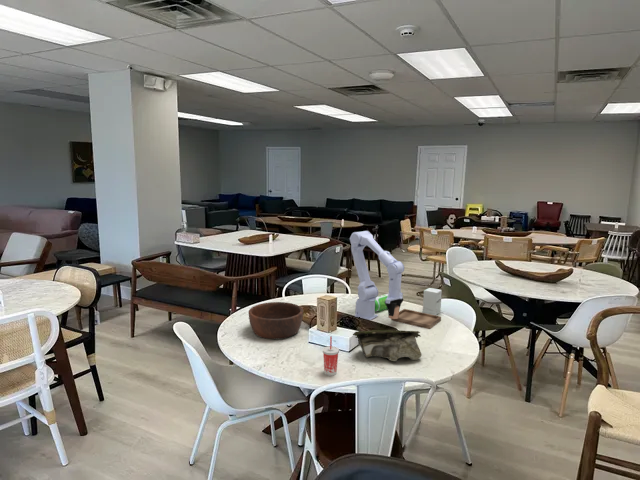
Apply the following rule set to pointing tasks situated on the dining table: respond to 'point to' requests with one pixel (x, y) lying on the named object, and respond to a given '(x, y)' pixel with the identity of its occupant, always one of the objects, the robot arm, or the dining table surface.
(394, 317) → the terracotta cup
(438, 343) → the dining table surface
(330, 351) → the beverage cup
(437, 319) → the walnut tray
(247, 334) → the dining table surface
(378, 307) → the speaker
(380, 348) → the mossy rock
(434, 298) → the supplement box
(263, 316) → the wooden bowl
